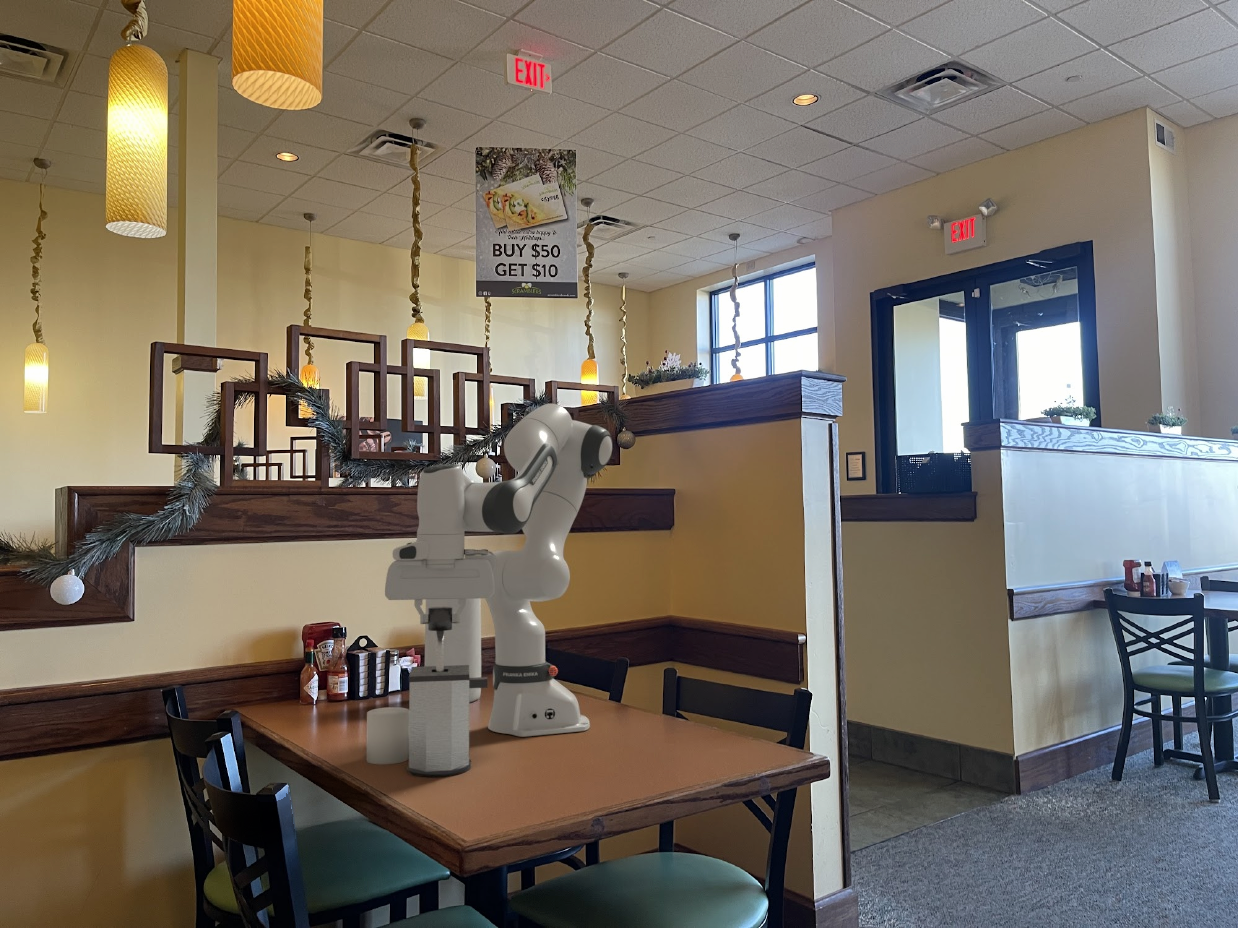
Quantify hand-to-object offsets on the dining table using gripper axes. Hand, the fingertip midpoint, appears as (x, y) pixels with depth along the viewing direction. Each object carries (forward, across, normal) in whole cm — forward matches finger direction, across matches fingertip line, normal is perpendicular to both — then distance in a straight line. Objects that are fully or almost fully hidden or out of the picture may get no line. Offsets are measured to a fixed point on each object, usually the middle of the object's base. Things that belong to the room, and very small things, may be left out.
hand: (440, 623), depth 169 cm
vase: (+27, -2, -64) cm, 69 cm away
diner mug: (+27, +10, -11) cm, 30 cm away
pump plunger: (+18, 0, 0) cm, 18 cm away
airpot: (+27, -2, 0) cm, 27 cm away
